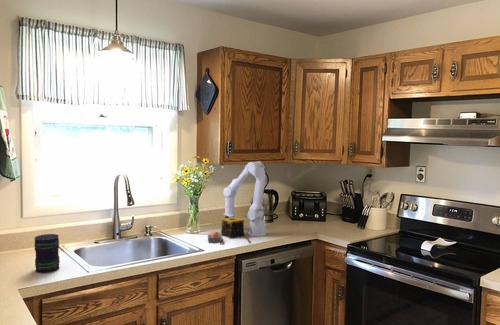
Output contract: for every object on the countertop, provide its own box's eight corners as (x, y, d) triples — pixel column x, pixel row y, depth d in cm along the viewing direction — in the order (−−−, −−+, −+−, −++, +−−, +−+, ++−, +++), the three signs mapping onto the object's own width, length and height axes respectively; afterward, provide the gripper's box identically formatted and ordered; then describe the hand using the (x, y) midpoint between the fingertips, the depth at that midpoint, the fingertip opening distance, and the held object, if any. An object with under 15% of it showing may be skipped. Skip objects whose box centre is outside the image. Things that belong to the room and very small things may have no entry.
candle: (230, 238, 242) (230, 221, 241) (220, 235, 249) (220, 218, 249) (244, 236, 248) (244, 219, 247) (234, 232, 256) (234, 216, 255)
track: (243, 232, 256) (243, 231, 256) (251, 243, 232) (251, 242, 232) (215, 233, 253) (215, 232, 253) (219, 244, 229) (219, 243, 229)
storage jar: (63, 265, 192) (62, 234, 190) (54, 273, 182) (53, 239, 181) (41, 265, 191) (40, 234, 190) (31, 273, 182) (29, 239, 180)
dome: (217, 240, 238) (217, 231, 238) (218, 241, 234) (218, 233, 234) (210, 240, 237) (210, 231, 237) (210, 242, 234) (210, 233, 233)
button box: (219, 239, 240) (219, 234, 239) (220, 242, 233) (220, 237, 233) (207, 239, 238) (207, 234, 238) (208, 243, 232) (208, 237, 232)
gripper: (222, 204, 267) (221, 225, 268) (224, 208, 253) (224, 230, 254) (232, 204, 269) (232, 225, 270) (236, 208, 254) (236, 230, 255)
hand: (229, 227), depth 262 cm, fingers closed
